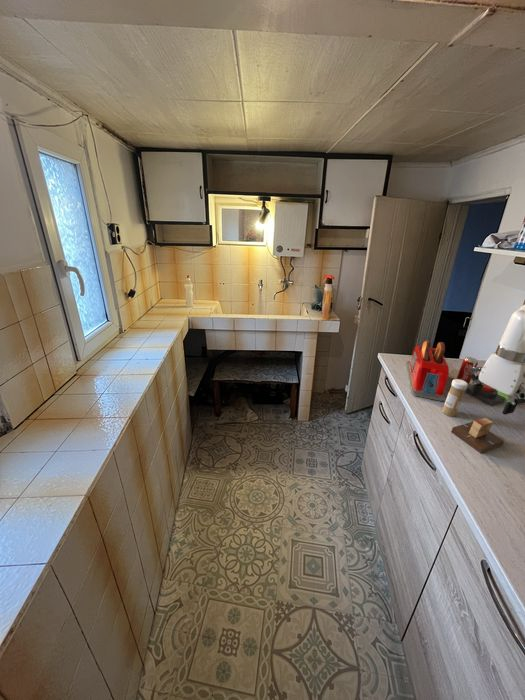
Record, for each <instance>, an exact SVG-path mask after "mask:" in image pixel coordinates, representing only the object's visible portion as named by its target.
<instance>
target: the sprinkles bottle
mask: <svg viewBox="0 0 525 700" xmlns="http://www.w3.org/2000/svg"><path fill="white" fill-rule="evenodd" d="M468 386H469V385H468V384H467V383H466V382H465V381H463V380H459V379H456V378H455V379H453V380H452V381H451V386H450V389H449V391H448V393H447V396H446V401H445V402H444V405H443V407H442V409H441V411H442V413H443V414H445V415H446V416H449V417H455V416H457V412H458V410H459V408H460V406H461V403H462V399H463V397H464V395H465V393H466V391H467V388H468Z"/></svg>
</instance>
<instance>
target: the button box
mask: <svg viewBox="0 0 525 700" xmlns="http://www.w3.org/2000/svg"><path fill="white" fill-rule="evenodd" d="M472 387H473V386H472ZM472 387H467V389H466V390H465V393H466V394H467V395H469V396H470V394H471V389H472ZM482 387H483V386H482ZM472 397H473V398H474V399H477V400H478V401H480V402H482V403H484V404H486V405H488V407H492V406H493V407H494V406H497V405H501V404H504V402H506V399H507V398H506V397H505V396H502V395H501V394H499V391H498V390H496V389H494V391H493V392H487V391H485V390H483V389H481V391H480V393H479V395H477V396H472Z"/></svg>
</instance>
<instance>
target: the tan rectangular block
mask: <svg viewBox="0 0 525 700" xmlns="http://www.w3.org/2000/svg"><path fill="white" fill-rule="evenodd" d="M472 422H473V424H472V427H471V429H470V431H469V434H470V435H472V436H473V437H475V438H478V437H481V436H484V435H487V434H488V432H490V430H491V428H492V426H493V424H494V422H493V421H492V420H490V419H489V418H487V417H483V418H480V419H475V420H474V421H472Z"/></svg>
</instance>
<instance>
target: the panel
mask: <svg viewBox="0 0 525 700" xmlns="http://www.w3.org/2000/svg"><path fill="white" fill-rule="evenodd" d="M473 422H474V421H471V422H470V421H469V422H467V423H463V424H460V425H457V426H452V428H451V431H450V432H451V433H452V435H454V436H456V437H457V438H459V439H460V440H461V441H463V442H464V443H466V445H468V446H470V447H471V448H472V449H474V450H475V451H477V452H478V453H479V454H482V453H485V452H488V451H491V450H493V449H497V448H500V447H502V446H503V444H504V443H505V440H504V439H502V438H501V437H499V436H497V435H495V434H494V433H492V432H491V431H489V432H488V434H487V435H484V436H481V437H478V438H475V437H473V436H472V435H470V434H469V431H470V429H471V427H472V424H473Z"/></svg>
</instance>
